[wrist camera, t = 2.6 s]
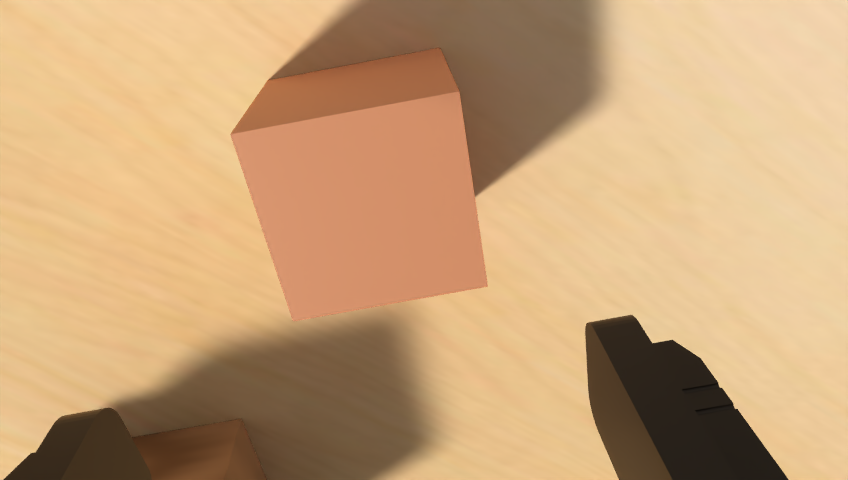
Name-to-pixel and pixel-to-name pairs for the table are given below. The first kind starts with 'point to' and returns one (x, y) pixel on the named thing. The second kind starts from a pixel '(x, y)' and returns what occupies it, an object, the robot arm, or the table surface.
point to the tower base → (201, 453)
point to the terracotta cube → (363, 184)
